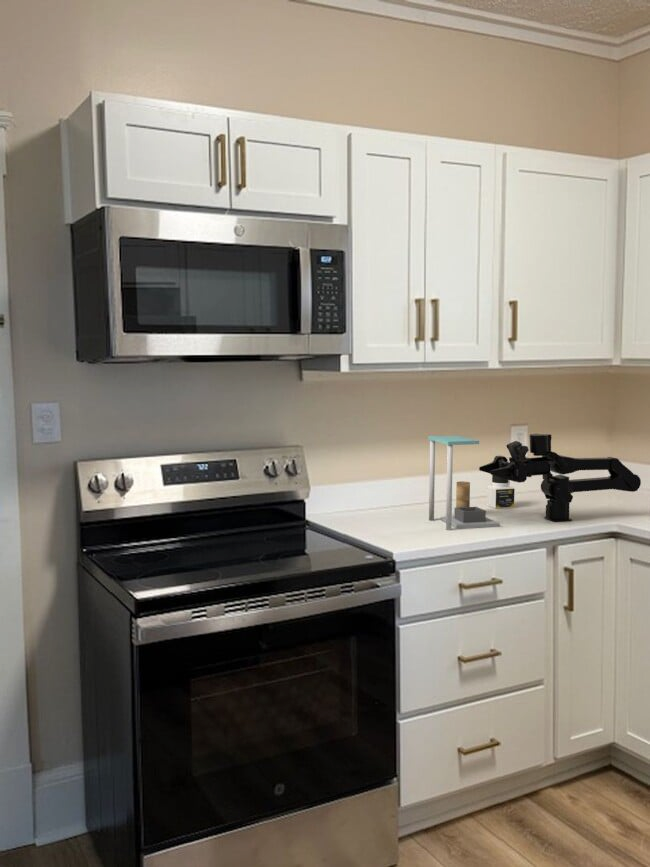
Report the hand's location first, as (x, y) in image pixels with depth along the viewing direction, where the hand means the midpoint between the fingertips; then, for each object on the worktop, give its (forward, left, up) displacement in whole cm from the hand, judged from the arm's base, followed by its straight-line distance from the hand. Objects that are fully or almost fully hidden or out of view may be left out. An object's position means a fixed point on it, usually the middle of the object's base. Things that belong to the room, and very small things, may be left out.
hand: (484, 470), depth 273 cm
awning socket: (+7, 0, -17) cm, 18 cm away
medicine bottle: (-17, -25, -17) cm, 35 cm away
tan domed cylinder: (+2, -13, -17) cm, 21 cm away
